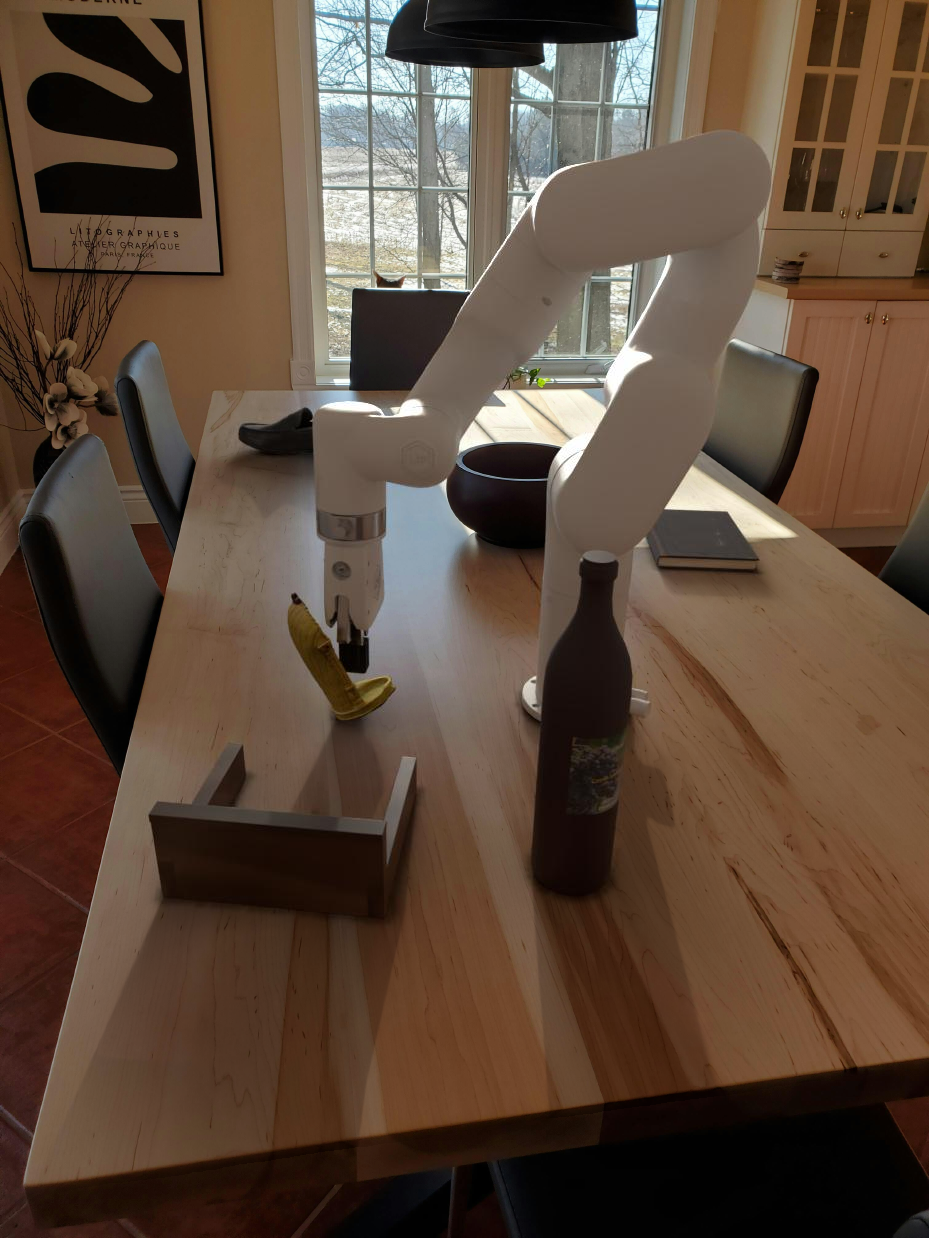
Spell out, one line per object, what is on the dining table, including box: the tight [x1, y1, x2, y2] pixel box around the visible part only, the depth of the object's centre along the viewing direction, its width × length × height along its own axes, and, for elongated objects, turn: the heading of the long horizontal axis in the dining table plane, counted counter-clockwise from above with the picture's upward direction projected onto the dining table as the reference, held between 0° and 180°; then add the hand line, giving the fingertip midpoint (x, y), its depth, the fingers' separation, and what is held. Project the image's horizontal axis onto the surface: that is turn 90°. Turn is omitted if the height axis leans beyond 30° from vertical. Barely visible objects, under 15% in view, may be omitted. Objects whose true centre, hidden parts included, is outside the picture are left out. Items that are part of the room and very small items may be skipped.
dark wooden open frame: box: [147, 742, 418, 919], centre depth 81 cm, size 18×19×9 cm
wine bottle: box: [530, 550, 634, 896], centre depth 73 cm, size 7×7×30 cm
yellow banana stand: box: [286, 592, 397, 723], centre depth 99 cm, size 12×8×15 cm
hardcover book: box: [645, 508, 761, 573], centre depth 153 cm, size 16×23×2 cm
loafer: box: [237, 406, 314, 456], centre depth 197 cm, size 10×29×10 cm, turn 82°
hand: (354, 669), depth 105 cm, fingers closed
